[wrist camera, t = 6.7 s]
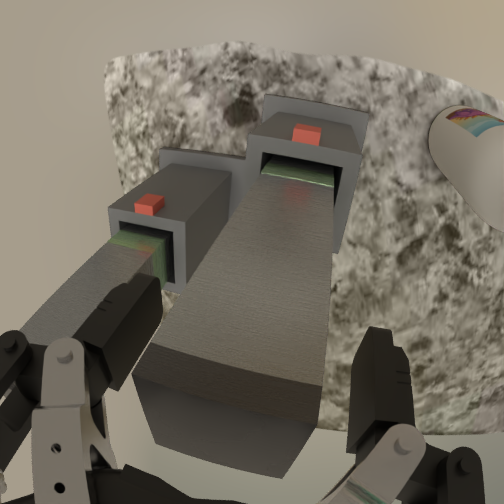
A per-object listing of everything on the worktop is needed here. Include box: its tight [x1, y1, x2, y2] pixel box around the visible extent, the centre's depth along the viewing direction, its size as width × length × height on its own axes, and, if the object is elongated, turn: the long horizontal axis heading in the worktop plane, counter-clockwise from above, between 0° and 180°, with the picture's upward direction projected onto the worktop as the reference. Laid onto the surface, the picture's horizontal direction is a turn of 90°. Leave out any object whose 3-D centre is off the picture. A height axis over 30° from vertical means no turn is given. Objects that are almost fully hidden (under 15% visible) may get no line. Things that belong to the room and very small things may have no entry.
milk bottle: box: [428, 105, 504, 232], centre depth 18 cm, size 8×8×20 cm
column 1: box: [4, 223, 175, 397], centre depth 21 cm, size 4×4×22 cm
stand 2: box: [241, 94, 369, 254], centre depth 26 cm, size 10×10×13 cm
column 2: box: [132, 154, 334, 479], centre depth 16 cm, size 4×4×22 cm
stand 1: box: [108, 147, 246, 294], centre depth 31 cm, size 10×10×13 cm
